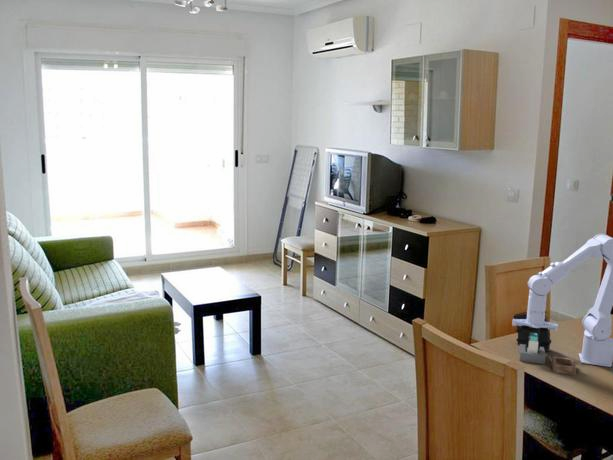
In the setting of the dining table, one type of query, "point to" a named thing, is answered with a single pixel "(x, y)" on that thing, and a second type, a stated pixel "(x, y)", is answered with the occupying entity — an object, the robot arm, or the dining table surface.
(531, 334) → the plug
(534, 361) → the port panel
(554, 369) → the brown wooden frame
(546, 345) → the black piece
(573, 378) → the dining table surface
